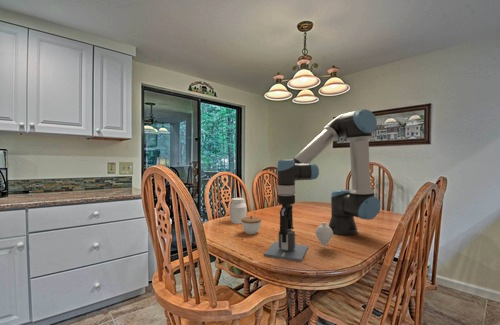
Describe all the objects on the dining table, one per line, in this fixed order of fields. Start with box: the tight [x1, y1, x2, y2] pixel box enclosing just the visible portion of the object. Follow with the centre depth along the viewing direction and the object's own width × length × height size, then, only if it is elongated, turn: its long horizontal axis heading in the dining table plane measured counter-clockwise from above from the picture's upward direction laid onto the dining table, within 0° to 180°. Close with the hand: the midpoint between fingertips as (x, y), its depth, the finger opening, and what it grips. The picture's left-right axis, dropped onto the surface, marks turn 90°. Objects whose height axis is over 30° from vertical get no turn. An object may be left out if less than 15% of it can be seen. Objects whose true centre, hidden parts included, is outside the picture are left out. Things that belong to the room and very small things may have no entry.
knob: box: [277, 229, 296, 250], centre depth 107 cm, size 7×7×7 cm
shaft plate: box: [263, 241, 309, 263], centre depth 107 cm, size 16×16×6 cm
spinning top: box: [315, 221, 334, 249], centre depth 111 cm, size 8×8×12 cm
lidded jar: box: [241, 215, 262, 235], centre depth 135 cm, size 11×11×9 cm
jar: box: [229, 197, 248, 225], centre depth 159 cm, size 12×10×15 cm
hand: (286, 246), depth 107 cm, fingers closed on knob, 7 cm apart
